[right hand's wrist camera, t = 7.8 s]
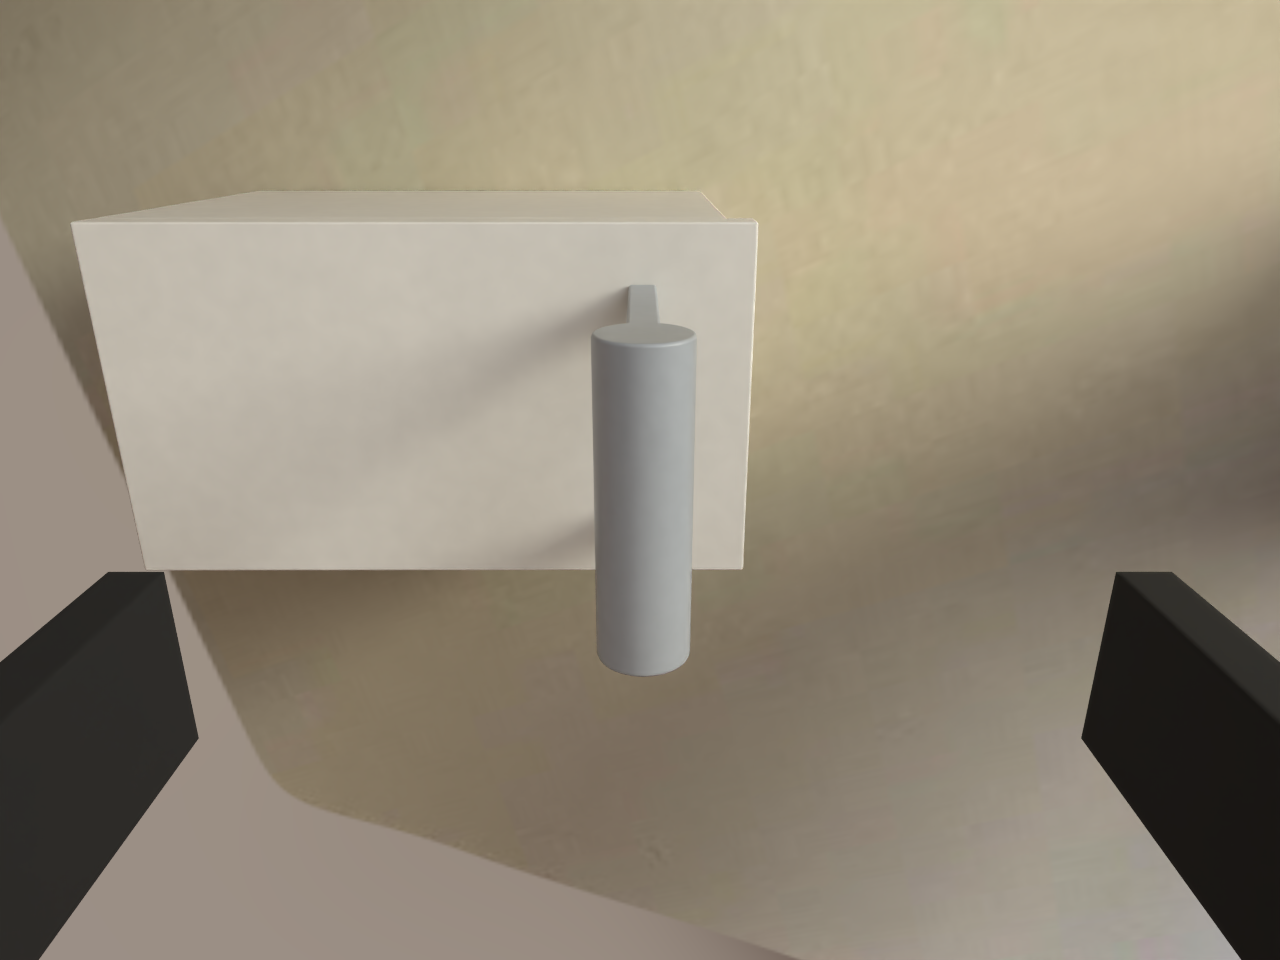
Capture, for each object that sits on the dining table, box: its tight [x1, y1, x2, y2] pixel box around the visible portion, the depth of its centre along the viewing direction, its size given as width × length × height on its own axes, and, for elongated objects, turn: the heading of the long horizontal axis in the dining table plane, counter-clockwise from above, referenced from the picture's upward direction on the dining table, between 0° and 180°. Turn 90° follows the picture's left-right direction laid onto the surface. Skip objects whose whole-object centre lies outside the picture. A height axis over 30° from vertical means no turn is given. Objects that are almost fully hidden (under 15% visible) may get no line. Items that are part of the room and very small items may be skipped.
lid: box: [70, 218, 758, 677], centre depth 21 cm, size 17×10×8 cm, turn 90°
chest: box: [99, 191, 726, 218], centre depth 30 cm, size 16×10×11 cm, turn 90°
